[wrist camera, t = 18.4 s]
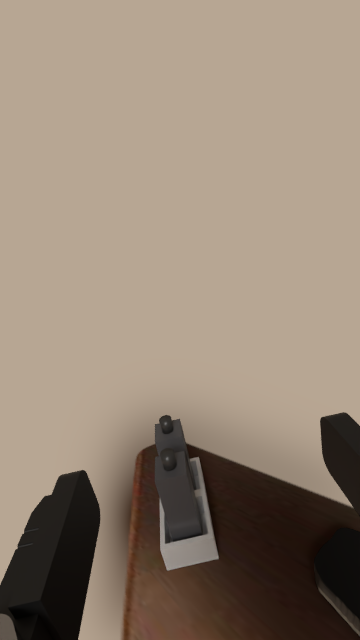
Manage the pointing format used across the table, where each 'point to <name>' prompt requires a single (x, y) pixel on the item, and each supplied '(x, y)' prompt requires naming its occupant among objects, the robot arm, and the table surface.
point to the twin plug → (172, 439)
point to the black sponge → (341, 574)
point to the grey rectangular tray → (197, 546)
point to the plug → (177, 495)
